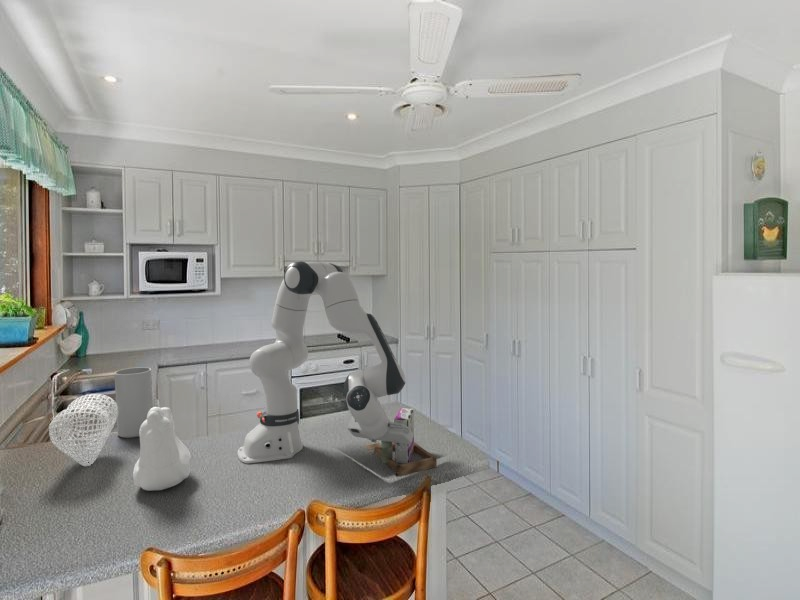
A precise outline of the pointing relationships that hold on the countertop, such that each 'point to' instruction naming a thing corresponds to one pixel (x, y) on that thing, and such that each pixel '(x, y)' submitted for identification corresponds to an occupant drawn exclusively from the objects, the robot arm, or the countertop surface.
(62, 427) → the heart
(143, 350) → the countertop surface
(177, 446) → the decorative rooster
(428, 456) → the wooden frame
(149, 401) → the cylinder vase
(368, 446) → the broken slat
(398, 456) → the candy bar box
